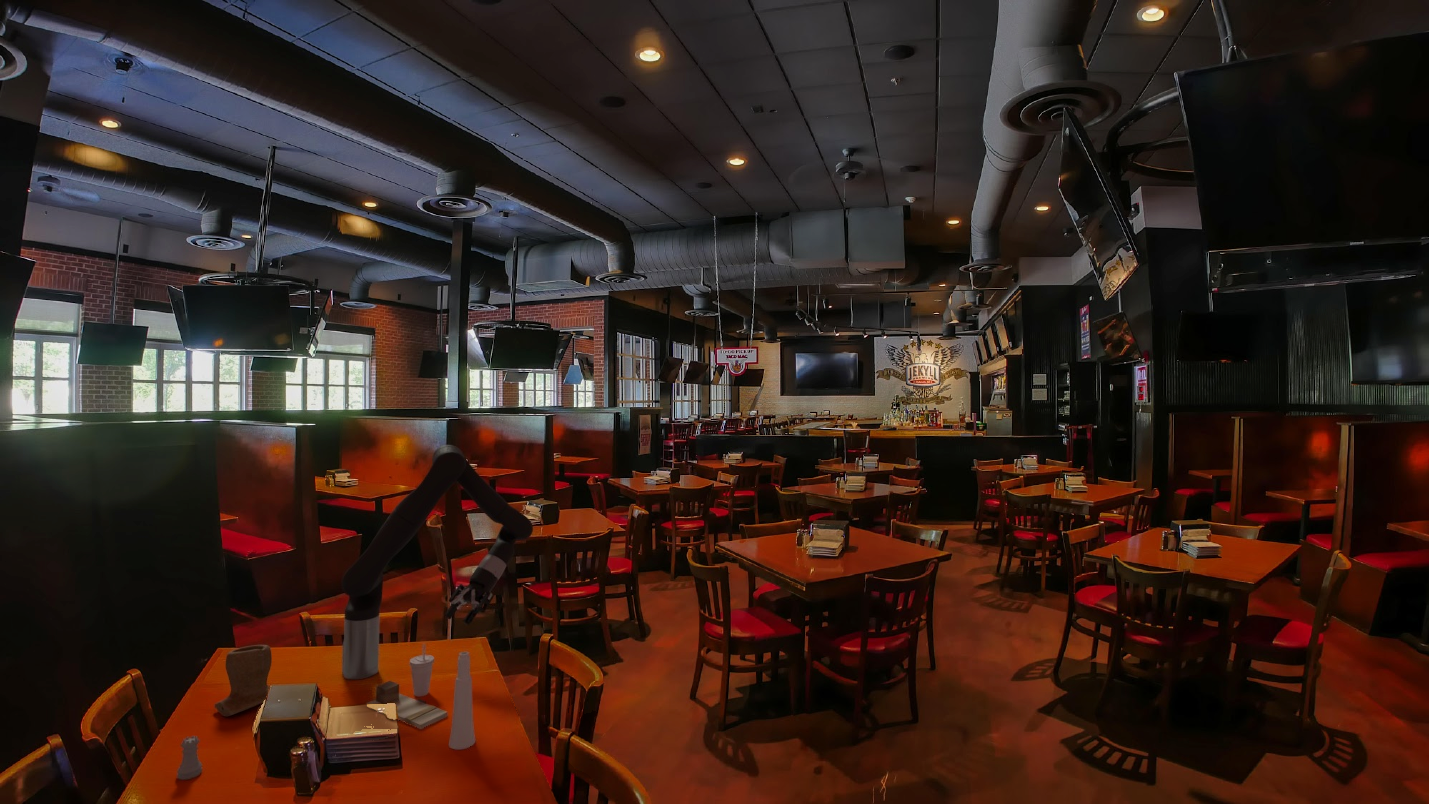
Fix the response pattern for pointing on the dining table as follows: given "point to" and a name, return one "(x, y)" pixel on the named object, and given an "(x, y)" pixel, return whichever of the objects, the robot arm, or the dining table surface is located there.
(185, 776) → the rook chess piece
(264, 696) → the brown boot
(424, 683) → the white drink cup
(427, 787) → the dining table surface
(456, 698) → the cosmetic bottle
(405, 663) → the dining table surface
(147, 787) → the dining table surface
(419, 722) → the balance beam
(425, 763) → the dining table surface
